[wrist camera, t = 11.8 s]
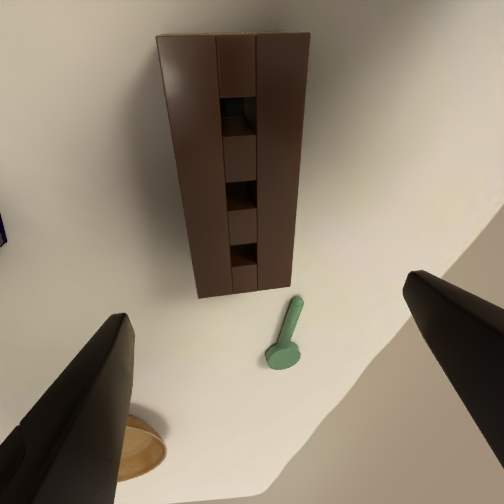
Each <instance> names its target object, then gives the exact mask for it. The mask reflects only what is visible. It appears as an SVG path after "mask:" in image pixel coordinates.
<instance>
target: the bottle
mask: <svg viewBox="0 0 504 504" xmlns="http://www.w3.org/2000/svg"><path fill="white" fill-rule="evenodd" d="M6 242H7V238H6V234H5V230H4V226H3V222H2V218H1V214H0V247H1V246H2V245H4V244H5V243H6Z"/></svg>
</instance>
